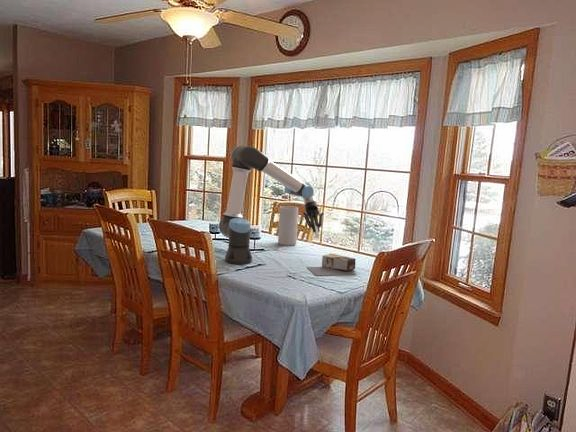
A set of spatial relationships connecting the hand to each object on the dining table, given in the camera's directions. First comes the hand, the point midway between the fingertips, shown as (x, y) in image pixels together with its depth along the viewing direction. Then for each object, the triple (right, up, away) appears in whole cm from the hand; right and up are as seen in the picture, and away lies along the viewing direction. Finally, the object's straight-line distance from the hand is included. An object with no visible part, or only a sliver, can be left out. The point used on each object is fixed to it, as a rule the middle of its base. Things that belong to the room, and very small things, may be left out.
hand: (317, 236), depth 260 cm
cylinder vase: (-18, -7, +41) cm, 45 cm away
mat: (+6, -18, -22) cm, 28 cm away
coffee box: (+4, -12, -12) cm, 17 cm away
